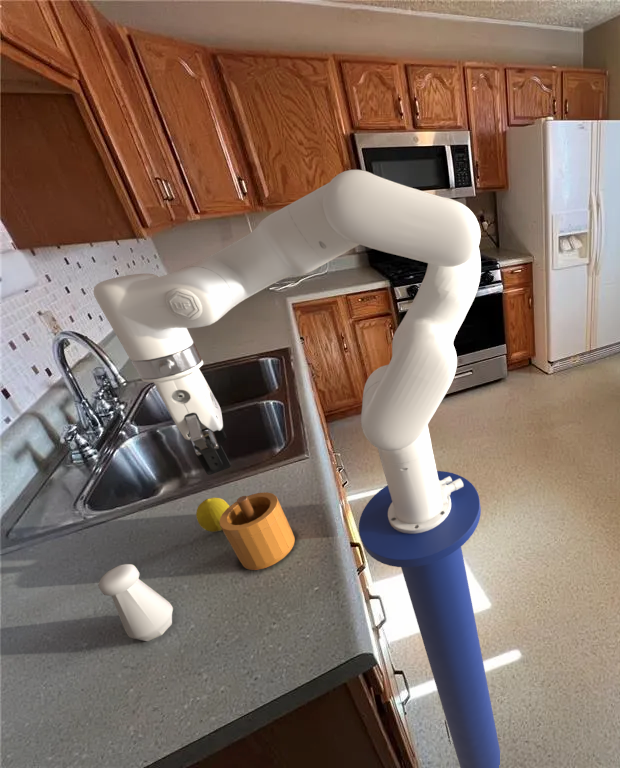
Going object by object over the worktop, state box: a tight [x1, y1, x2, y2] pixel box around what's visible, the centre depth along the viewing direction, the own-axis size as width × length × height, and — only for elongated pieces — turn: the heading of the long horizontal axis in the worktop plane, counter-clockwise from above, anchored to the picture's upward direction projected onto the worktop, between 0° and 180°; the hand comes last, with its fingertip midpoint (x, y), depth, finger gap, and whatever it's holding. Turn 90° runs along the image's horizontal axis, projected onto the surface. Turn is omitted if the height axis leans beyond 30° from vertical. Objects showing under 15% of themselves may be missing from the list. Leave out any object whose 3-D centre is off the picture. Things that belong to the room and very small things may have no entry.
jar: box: [219, 491, 296, 571], centre depth 76 cm, size 9×9×10 cm
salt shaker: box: [97, 563, 174, 642], centre depth 63 cm, size 6×6×13 cm
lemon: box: [195, 497, 231, 533], centre depth 82 cm, size 6×6×8 cm
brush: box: [236, 495, 257, 523], centre depth 75 cm, size 5×5×12 cm
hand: (218, 455), depth 68 cm, fingers open, 9 cm apart
